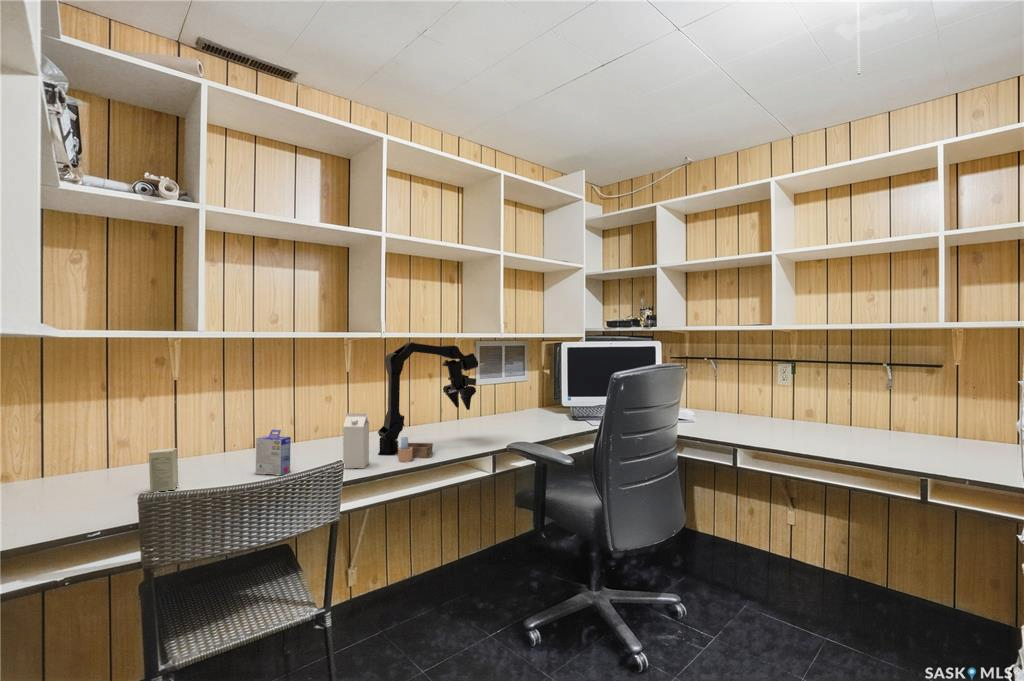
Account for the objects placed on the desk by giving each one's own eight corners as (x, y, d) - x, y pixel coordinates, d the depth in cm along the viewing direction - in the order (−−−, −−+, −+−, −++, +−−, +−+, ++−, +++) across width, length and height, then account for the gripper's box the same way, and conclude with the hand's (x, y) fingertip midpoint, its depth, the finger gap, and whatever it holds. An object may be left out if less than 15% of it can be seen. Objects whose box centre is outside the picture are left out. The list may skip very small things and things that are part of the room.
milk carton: (349, 463, 182) (349, 411, 182) (368, 463, 182) (369, 411, 182) (343, 468, 175) (343, 415, 175) (363, 469, 175) (363, 415, 175)
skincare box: (178, 487, 154) (178, 447, 153) (173, 491, 149) (173, 450, 149) (154, 488, 152) (154, 448, 152) (148, 493, 148) (148, 452, 147)
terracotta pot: (396, 462, 185) (396, 449, 185) (400, 458, 190) (400, 446, 190) (410, 462, 185) (410, 449, 185) (413, 458, 190) (413, 446, 190)
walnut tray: (402, 457, 191) (402, 447, 191) (407, 452, 199) (407, 442, 199) (428, 458, 191) (428, 447, 191) (432, 453, 199) (432, 443, 199)
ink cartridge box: (291, 471, 171) (291, 429, 171) (281, 476, 166) (281, 432, 166) (265, 470, 173) (265, 428, 173) (254, 474, 168) (254, 431, 168)
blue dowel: (400, 460, 186) (397, 438, 186) (402, 458, 189) (399, 437, 189) (410, 459, 186) (407, 437, 186) (411, 457, 189) (408, 436, 189)
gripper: (483, 370, 211) (490, 405, 214) (460, 368, 226) (467, 400, 229) (460, 377, 205) (468, 413, 207) (439, 374, 220) (446, 408, 222)
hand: (463, 408), depth 216 cm, fingers open, 9 cm apart
